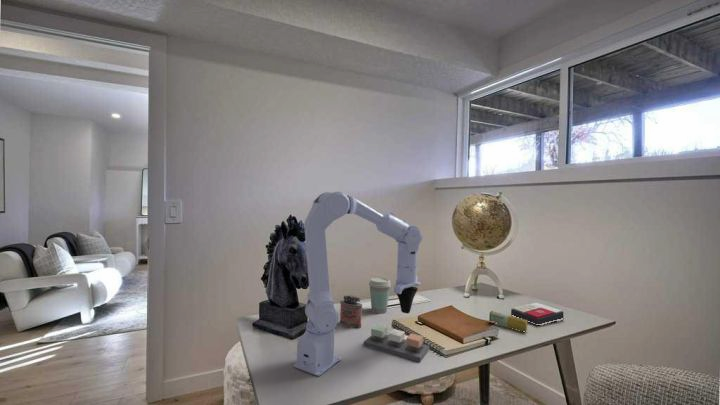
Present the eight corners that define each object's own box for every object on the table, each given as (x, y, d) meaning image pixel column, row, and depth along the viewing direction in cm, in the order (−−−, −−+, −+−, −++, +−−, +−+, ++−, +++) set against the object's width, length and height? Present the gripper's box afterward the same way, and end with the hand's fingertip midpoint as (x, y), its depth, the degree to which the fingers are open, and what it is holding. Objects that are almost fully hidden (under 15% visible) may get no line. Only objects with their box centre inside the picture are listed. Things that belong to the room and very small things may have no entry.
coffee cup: (391, 315, 114) (392, 283, 114) (368, 314, 114) (369, 282, 114) (389, 307, 123) (390, 277, 123) (367, 306, 123) (368, 276, 123)
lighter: (337, 324, 104) (338, 294, 104) (342, 320, 107) (343, 292, 107) (358, 329, 100) (359, 298, 100) (363, 325, 103) (364, 296, 103)
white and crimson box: (510, 307, 118) (535, 300, 124) (510, 318, 118) (535, 311, 124) (538, 317, 108) (564, 309, 114) (538, 329, 108) (564, 321, 114)
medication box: (488, 323, 110) (488, 312, 109) (491, 321, 112) (491, 310, 111) (525, 334, 102) (526, 322, 102) (528, 331, 104) (528, 319, 104)
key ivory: (399, 342, 86) (400, 336, 86) (388, 339, 88) (388, 333, 88) (404, 337, 89) (404, 331, 89) (393, 334, 91) (393, 328, 91)
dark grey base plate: (420, 362, 81) (420, 357, 81) (363, 345, 89) (363, 340, 89) (429, 350, 88) (429, 345, 88) (376, 335, 96) (376, 331, 96)
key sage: (382, 337, 89) (382, 331, 89) (371, 334, 90) (371, 328, 90) (387, 333, 92) (387, 327, 92) (376, 330, 94) (376, 324, 94)
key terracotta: (418, 347, 83) (418, 341, 83) (406, 344, 85) (406, 337, 85) (422, 342, 86) (423, 336, 86) (410, 339, 88) (411, 333, 88)
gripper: (411, 272, 82) (410, 323, 82) (427, 263, 94) (426, 307, 94) (387, 268, 85) (385, 317, 85) (406, 260, 98) (404, 303, 98)
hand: (405, 312), depth 90 cm, fingers closed
